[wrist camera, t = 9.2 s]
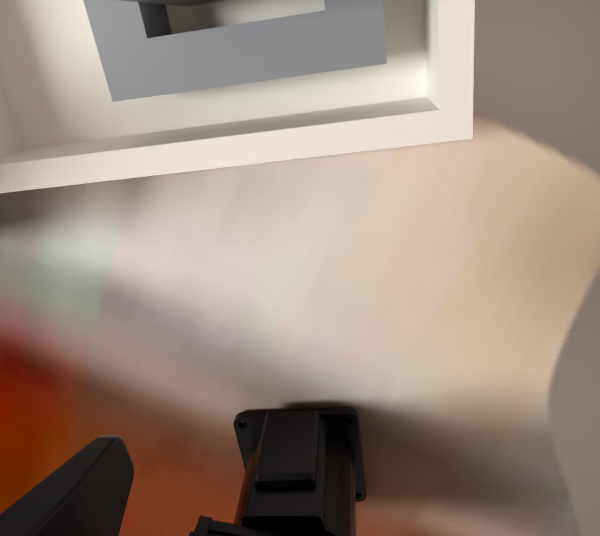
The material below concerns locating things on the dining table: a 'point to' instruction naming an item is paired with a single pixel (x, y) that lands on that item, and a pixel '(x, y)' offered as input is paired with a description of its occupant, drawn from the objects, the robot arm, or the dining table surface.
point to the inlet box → (224, 84)
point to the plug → (177, 2)
